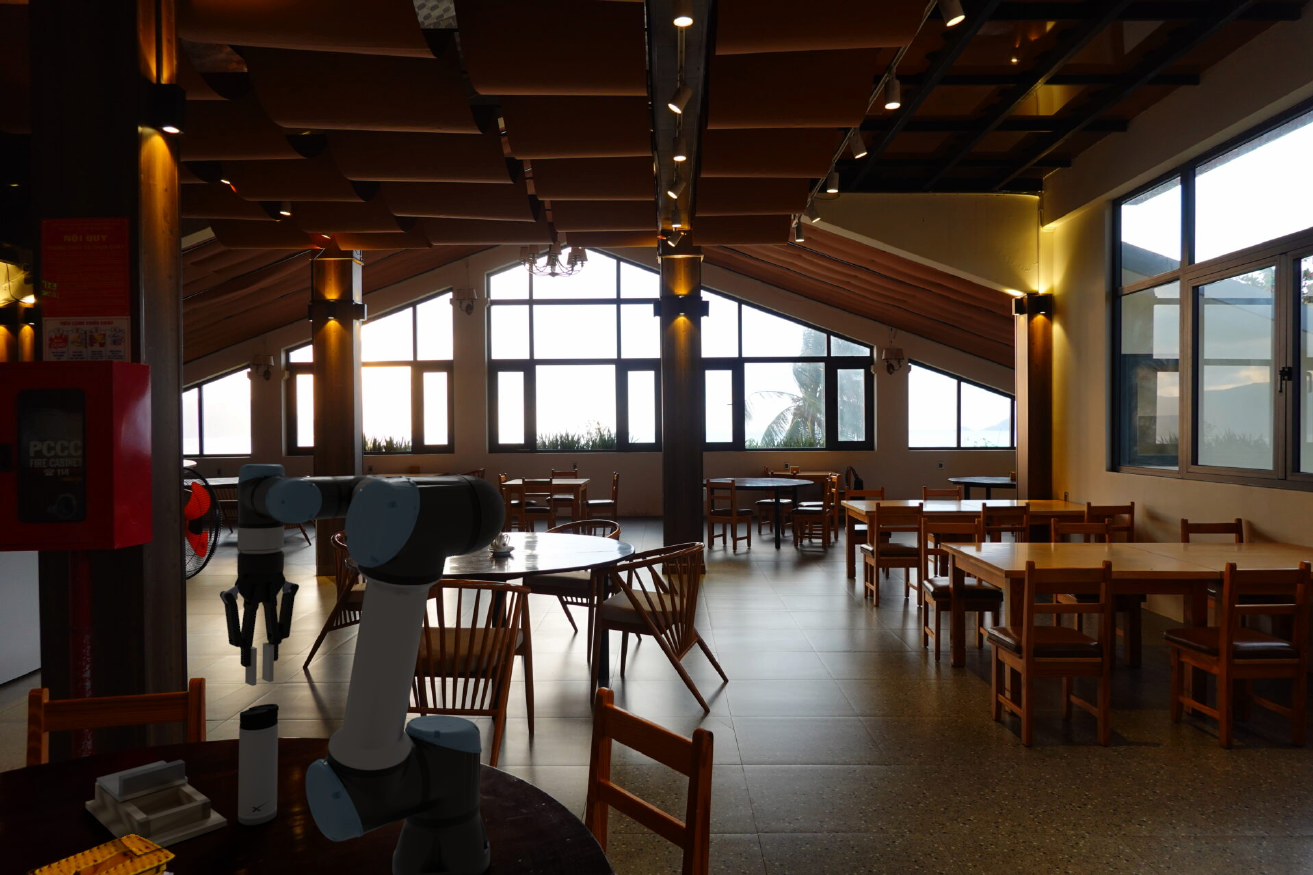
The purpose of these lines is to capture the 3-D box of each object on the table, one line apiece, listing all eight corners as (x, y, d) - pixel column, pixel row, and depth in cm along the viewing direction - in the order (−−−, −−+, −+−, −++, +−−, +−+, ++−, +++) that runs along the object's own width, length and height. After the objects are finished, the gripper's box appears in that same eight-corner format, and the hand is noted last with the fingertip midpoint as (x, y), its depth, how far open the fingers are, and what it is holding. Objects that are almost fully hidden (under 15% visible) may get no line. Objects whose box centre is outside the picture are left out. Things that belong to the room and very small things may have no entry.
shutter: (187, 781, 151) (188, 761, 151) (119, 801, 142) (119, 780, 142) (163, 764, 158) (163, 744, 158) (96, 782, 150) (97, 761, 150)
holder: (226, 825, 143) (227, 802, 143) (136, 856, 133) (136, 831, 133) (169, 783, 160) (170, 762, 160) (85, 807, 149) (85, 785, 149)
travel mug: (262, 827, 143) (264, 713, 143) (229, 823, 144) (231, 709, 144) (286, 811, 149) (287, 701, 149) (254, 807, 150) (255, 698, 150)
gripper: (293, 544, 155) (291, 668, 155) (206, 552, 143) (204, 687, 143) (312, 548, 150) (311, 676, 150) (225, 556, 138) (223, 696, 138)
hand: (259, 681), depth 146 cm, fingers open, 2 cm apart
